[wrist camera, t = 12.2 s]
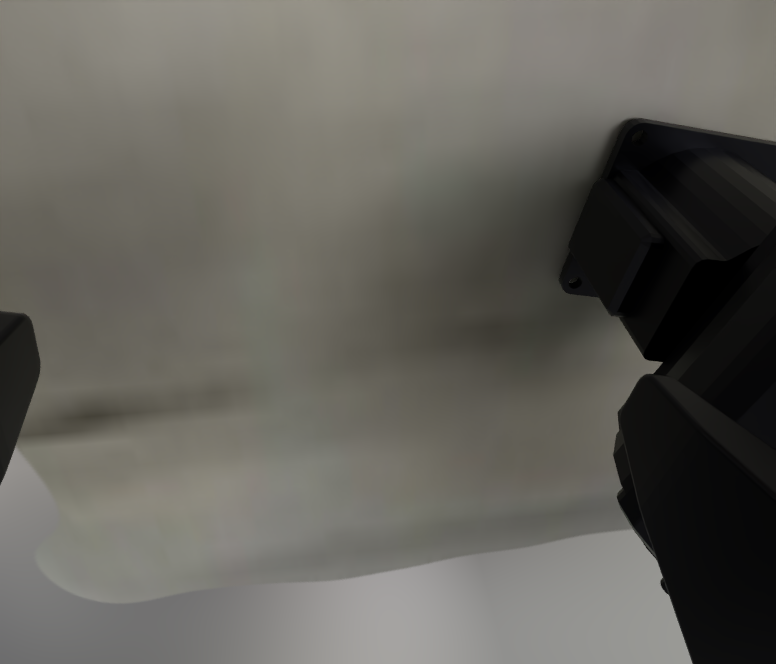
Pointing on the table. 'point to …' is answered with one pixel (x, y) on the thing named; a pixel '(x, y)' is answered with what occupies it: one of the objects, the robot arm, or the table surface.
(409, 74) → the table surface
